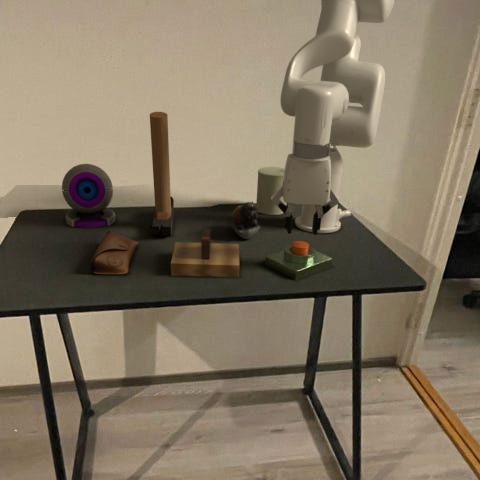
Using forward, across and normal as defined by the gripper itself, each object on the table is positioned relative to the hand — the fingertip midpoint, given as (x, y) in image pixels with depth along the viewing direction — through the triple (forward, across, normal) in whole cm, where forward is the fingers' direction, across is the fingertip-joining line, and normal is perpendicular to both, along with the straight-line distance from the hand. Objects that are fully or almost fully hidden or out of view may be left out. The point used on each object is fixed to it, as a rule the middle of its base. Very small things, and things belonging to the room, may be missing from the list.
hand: (301, 231), depth 121 cm
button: (+5, 0, 0) cm, 5 cm away
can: (+9, +4, -39) cm, 40 cm away
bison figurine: (+9, +12, -19) cm, 24 cm away
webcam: (+9, +54, -26) cm, 60 cm away
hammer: (+9, +34, -23) cm, 42 cm away
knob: (+5, +22, +1) cm, 22 cm away
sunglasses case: (+9, +42, -1) cm, 43 cm away
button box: (+9, 0, 0) cm, 9 cm away
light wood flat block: (+9, +22, +1) cm, 23 cm away
